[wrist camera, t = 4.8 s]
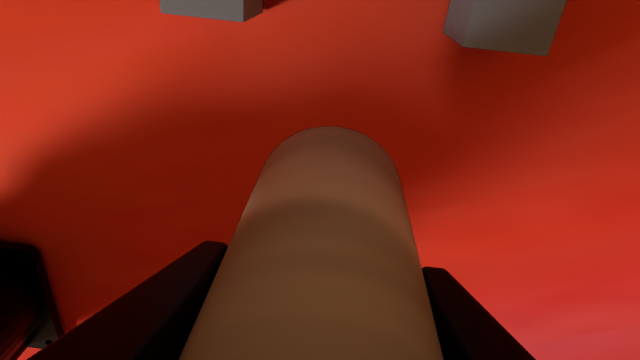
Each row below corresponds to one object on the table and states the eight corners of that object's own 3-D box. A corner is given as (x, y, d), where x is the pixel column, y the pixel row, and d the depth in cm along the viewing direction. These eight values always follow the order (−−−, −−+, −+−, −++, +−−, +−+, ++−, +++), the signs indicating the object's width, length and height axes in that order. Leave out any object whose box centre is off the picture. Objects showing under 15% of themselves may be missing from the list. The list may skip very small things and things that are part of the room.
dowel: (387, 256, 11) (435, 621, 5) (257, 241, 11) (141, 584, 5) (414, 135, 9) (540, 457, 3) (261, 117, 9) (92, 401, 3)
